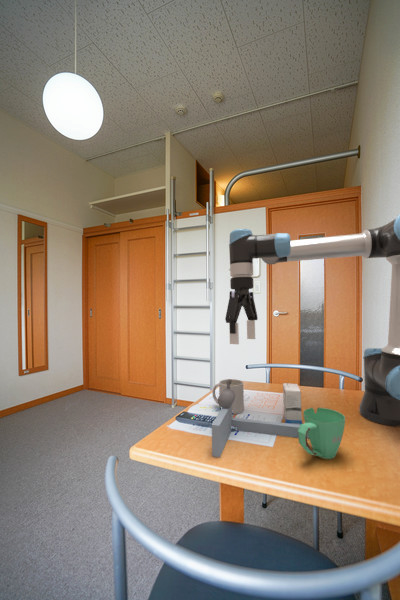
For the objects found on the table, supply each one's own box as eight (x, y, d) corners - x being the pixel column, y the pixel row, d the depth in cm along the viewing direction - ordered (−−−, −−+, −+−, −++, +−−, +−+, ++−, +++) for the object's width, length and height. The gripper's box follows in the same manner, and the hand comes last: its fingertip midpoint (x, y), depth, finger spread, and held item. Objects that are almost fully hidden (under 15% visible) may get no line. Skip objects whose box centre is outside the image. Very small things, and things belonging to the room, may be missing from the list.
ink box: (302, 429, 85) (301, 391, 85) (285, 428, 86) (285, 390, 86) (298, 418, 93) (297, 383, 93) (283, 417, 94) (282, 382, 94)
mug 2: (317, 440, 78) (316, 404, 78) (353, 455, 70) (352, 416, 70) (284, 458, 69) (283, 417, 69) (321, 477, 61) (320, 432, 61)
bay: (325, 435, 81) (324, 385, 81) (337, 475, 62) (335, 410, 62) (224, 423, 90) (223, 378, 90) (207, 455, 71) (206, 398, 71)
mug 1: (248, 411, 99) (248, 383, 99) (225, 416, 96) (224, 387, 96) (233, 402, 109) (233, 376, 109) (211, 405, 106) (211, 379, 106)
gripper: (246, 280, 104) (247, 336, 103) (212, 275, 83) (214, 345, 82) (265, 278, 100) (267, 337, 99) (235, 273, 79) (237, 347, 78)
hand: (243, 341), depth 91 cm, fingers open, 13 cm apart
